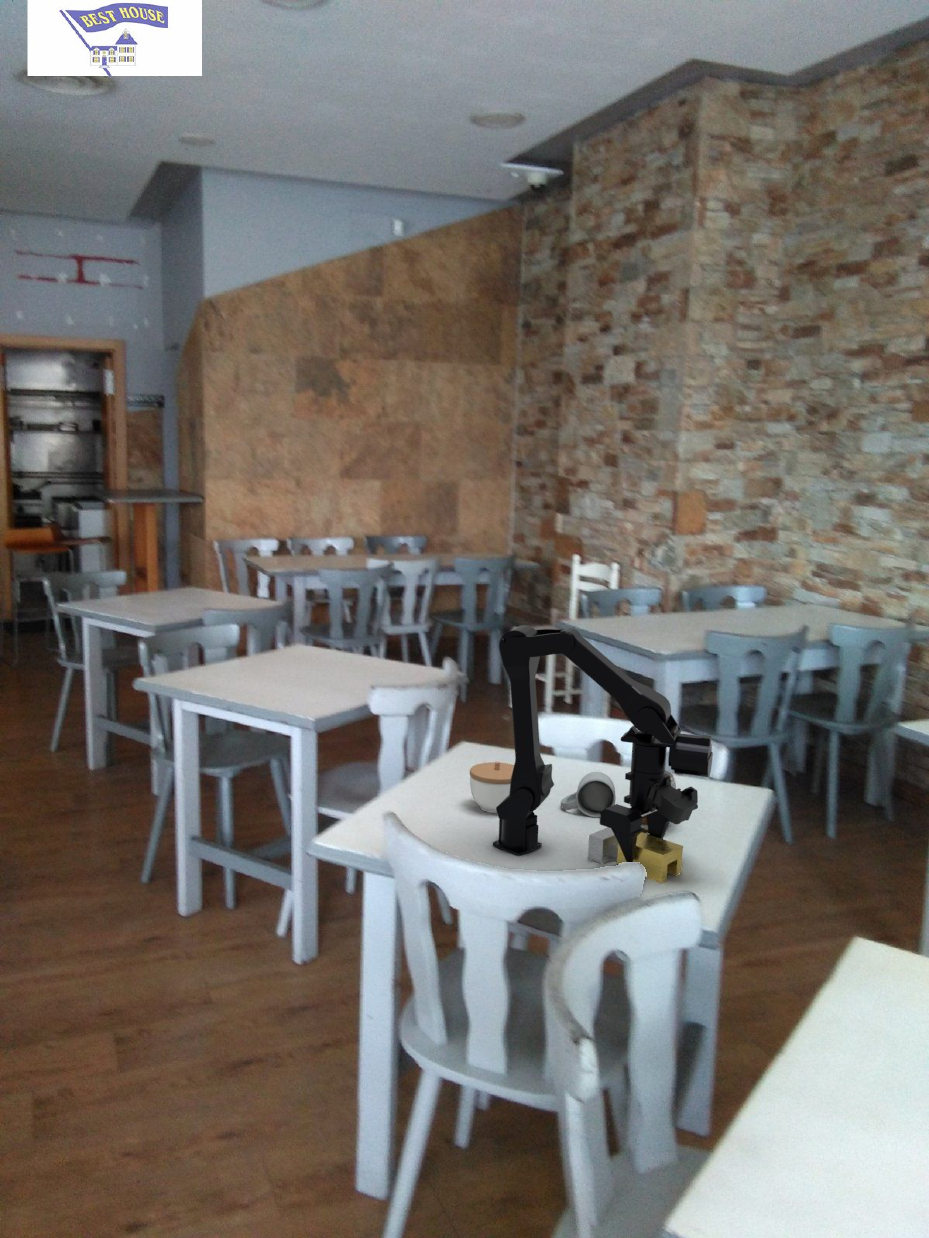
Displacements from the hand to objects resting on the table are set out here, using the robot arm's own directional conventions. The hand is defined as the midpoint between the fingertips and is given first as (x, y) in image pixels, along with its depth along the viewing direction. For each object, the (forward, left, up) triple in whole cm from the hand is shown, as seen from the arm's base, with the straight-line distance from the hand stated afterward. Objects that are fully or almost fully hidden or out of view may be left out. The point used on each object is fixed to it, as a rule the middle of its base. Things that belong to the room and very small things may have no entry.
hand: (642, 856), depth 179 cm
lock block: (+1, 0, -2) cm, 3 cm away
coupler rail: (-3, 0, -2) cm, 4 cm away
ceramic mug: (-23, +16, -2) cm, 28 cm away
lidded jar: (-36, +3, -2) cm, 37 cm away
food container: (-9, +19, -2) cm, 21 cm away
